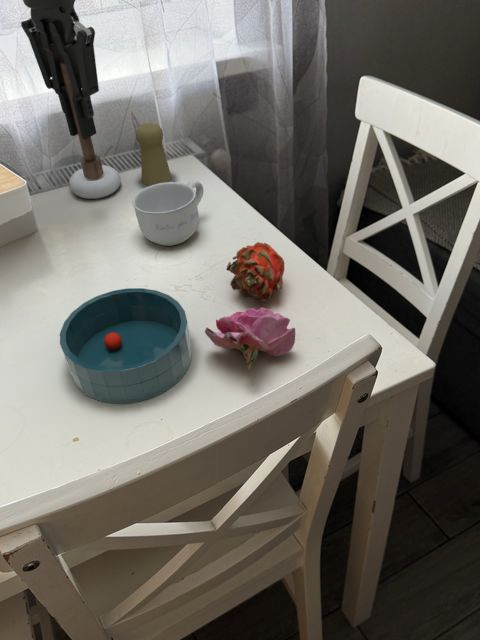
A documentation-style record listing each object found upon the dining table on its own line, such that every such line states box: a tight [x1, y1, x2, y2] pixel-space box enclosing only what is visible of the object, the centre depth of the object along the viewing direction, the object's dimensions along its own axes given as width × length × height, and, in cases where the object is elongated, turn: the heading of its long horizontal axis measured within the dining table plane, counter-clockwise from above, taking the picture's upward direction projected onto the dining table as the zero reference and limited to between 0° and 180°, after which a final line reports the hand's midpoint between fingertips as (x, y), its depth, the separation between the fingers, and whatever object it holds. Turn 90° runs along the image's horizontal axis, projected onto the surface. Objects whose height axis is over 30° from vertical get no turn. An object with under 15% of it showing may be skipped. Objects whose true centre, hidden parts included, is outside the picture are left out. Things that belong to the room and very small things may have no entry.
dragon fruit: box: [226, 241, 285, 302], centre depth 91 cm, size 8×8×12 cm
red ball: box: [104, 333, 122, 350], centre depth 83 cm, size 2×2×2 cm
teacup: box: [131, 179, 204, 247], centre depth 103 cm, size 14×11×8 cm
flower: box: [204, 307, 296, 386], centre depth 80 cm, size 11×10×10 cm
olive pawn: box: [135, 122, 173, 187], centre depth 117 cm, size 6×6×11 cm
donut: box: [68, 164, 122, 200], centre depth 117 cm, size 10×4×10 cm
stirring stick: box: [60, 60, 104, 179], centre depth 99 cm, size 3×3×19 cm
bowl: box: [59, 287, 193, 405], centre depth 81 cm, size 17×17×6 cm
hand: (83, 134), depth 100 cm, fingers closed on stirring stick, 2 cm apart
